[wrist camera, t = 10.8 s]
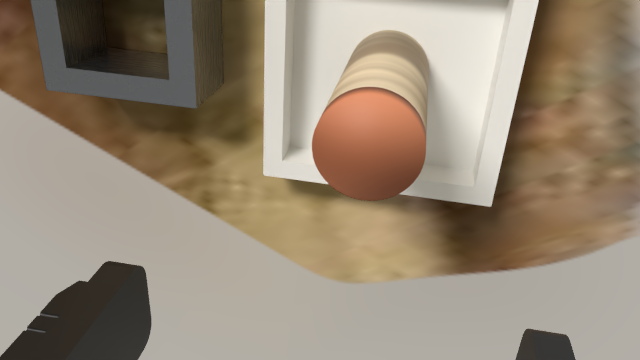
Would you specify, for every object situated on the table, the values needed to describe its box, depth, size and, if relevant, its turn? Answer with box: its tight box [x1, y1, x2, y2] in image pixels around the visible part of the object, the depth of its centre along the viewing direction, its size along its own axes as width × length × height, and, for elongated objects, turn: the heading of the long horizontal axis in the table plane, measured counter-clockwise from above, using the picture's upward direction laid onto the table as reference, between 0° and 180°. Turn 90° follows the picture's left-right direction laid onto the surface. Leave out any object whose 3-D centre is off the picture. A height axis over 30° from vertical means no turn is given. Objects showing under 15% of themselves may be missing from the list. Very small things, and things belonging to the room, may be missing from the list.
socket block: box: [31, 0, 224, 109], centre depth 28 cm, size 8×8×4 cm
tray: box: [263, 0, 539, 207], centre depth 28 cm, size 12×12×2 cm
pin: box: [312, 30, 429, 201], centre depth 24 cm, size 4×4×10 cm
